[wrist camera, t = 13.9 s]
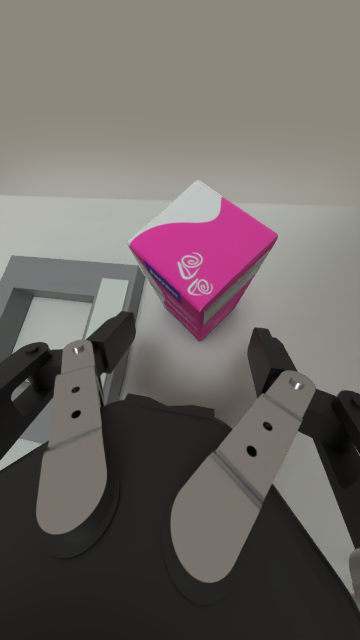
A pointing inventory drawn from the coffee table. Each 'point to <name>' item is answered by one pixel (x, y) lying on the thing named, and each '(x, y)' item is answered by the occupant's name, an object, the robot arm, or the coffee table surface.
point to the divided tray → (69, 284)
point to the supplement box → (201, 256)
